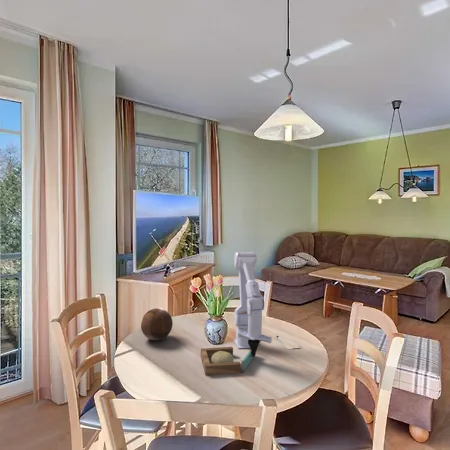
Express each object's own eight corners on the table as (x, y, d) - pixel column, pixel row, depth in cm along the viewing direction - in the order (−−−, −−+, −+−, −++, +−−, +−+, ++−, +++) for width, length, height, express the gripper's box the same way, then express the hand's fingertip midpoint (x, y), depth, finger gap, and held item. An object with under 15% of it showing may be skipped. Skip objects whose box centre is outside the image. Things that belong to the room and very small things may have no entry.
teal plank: (243, 372, 130) (243, 362, 130) (240, 371, 130) (240, 361, 130) (255, 355, 145) (256, 346, 145) (252, 354, 146) (253, 345, 145)
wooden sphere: (177, 335, 166) (177, 306, 165) (164, 347, 151) (164, 315, 150) (149, 331, 169) (150, 303, 168) (134, 343, 155) (135, 312, 154)
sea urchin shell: (218, 351, 144) (229, 342, 140) (228, 368, 141) (239, 359, 137) (205, 359, 137) (215, 350, 133) (215, 376, 134) (226, 367, 130)
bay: (200, 356, 143) (200, 348, 143) (232, 354, 146) (232, 346, 146) (205, 375, 128) (205, 366, 127) (240, 372, 130) (240, 363, 130)
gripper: (235, 325, 139) (234, 356, 139) (268, 330, 133) (267, 363, 134) (241, 319, 145) (240, 350, 146) (273, 325, 139) (272, 356, 140)
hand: (253, 356), depth 140 cm, fingers closed
